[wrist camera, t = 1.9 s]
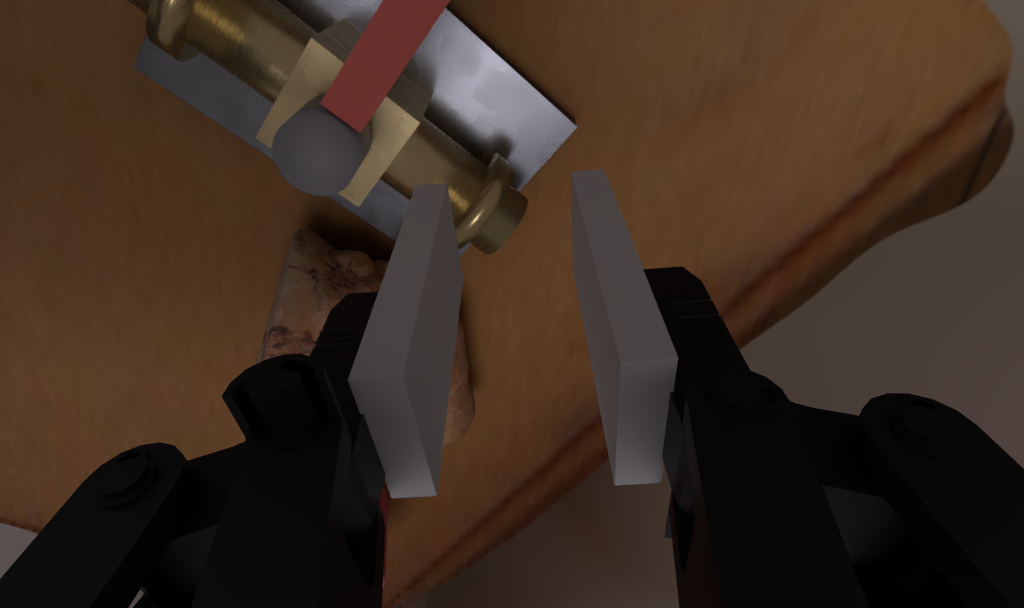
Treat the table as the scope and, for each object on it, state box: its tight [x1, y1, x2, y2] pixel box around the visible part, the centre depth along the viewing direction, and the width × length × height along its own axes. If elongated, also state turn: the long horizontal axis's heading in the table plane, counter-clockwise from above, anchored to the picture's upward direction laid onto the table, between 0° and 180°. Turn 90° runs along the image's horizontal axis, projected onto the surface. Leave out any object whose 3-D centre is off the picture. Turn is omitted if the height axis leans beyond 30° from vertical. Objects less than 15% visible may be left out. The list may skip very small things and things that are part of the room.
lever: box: [272, 0, 450, 196], centre depth 22 cm, size 4×16×4 cm, turn 140°
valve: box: [127, 0, 577, 256], centre depth 29 cm, size 22×14×8 cm, turn 50°
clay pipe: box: [256, 229, 475, 446], centre depth 39 cm, size 19×11×15 cm
